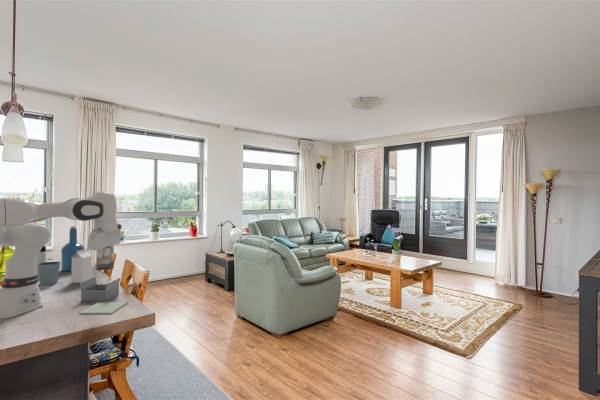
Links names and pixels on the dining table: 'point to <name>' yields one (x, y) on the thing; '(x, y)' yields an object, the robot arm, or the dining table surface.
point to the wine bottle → (70, 250)
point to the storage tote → (99, 290)
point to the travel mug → (41, 257)
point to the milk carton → (81, 266)
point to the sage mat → (103, 308)
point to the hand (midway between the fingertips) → (105, 256)
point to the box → (106, 259)
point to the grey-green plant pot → (48, 273)
